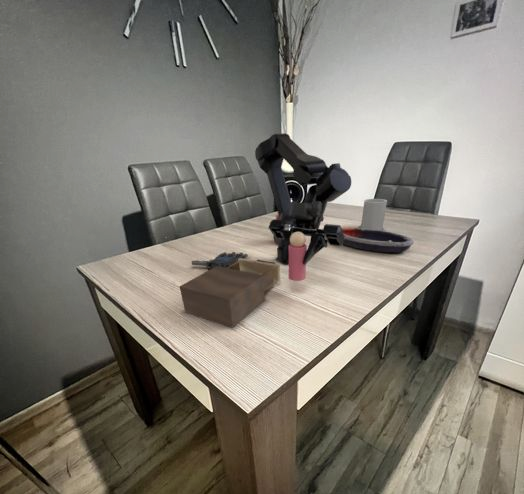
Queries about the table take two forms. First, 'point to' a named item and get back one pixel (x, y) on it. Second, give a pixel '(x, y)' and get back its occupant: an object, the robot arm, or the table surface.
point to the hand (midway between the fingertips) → (294, 262)
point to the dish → (376, 240)
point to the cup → (373, 214)
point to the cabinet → (223, 295)
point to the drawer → (259, 270)
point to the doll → (297, 257)
